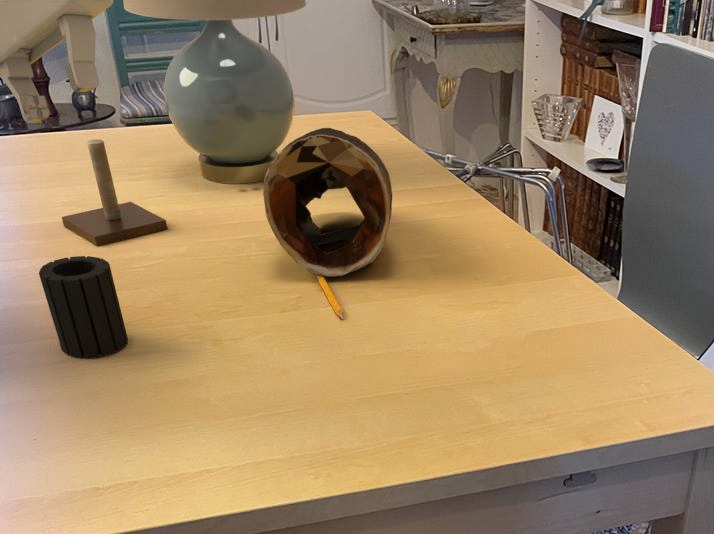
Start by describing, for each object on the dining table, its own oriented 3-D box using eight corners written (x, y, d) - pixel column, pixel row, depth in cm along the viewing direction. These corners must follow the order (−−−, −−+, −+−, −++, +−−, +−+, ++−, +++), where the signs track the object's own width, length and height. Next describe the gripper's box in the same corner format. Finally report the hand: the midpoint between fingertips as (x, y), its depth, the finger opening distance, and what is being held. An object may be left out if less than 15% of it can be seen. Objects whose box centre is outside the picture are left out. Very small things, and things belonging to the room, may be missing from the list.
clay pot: (380, 114, 125) (380, 121, 104) (400, 237, 133) (404, 267, 112) (270, 131, 125) (247, 141, 103) (296, 253, 133) (281, 286, 111)
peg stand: (97, 246, 120) (74, 157, 113) (63, 226, 125) (40, 139, 118) (168, 229, 125) (150, 142, 118) (132, 210, 130) (114, 126, 123)
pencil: (322, 277, 113) (321, 271, 113) (346, 321, 104) (346, 315, 103) (316, 278, 113) (315, 272, 113) (339, 322, 104) (339, 316, 103)
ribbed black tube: (79, 364, 95) (56, 286, 90) (51, 343, 99) (28, 266, 93) (139, 346, 98) (120, 269, 93) (110, 326, 102) (91, 251, 97)
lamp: (331, 191, 138) (300, -154, 112) (157, 202, 133) (84, -155, 107) (312, 146, 155) (282, -161, 130) (158, 154, 151) (95, -163, 125)
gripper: (-82, -47, 78) (-24, 137, 83) (16, -160, 64) (78, 68, 69) (-6, -38, 82) (45, 136, 87) (101, -142, 68) (154, 71, 73)
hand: (61, 106), depth 78 cm, fingers open, 8 cm apart
